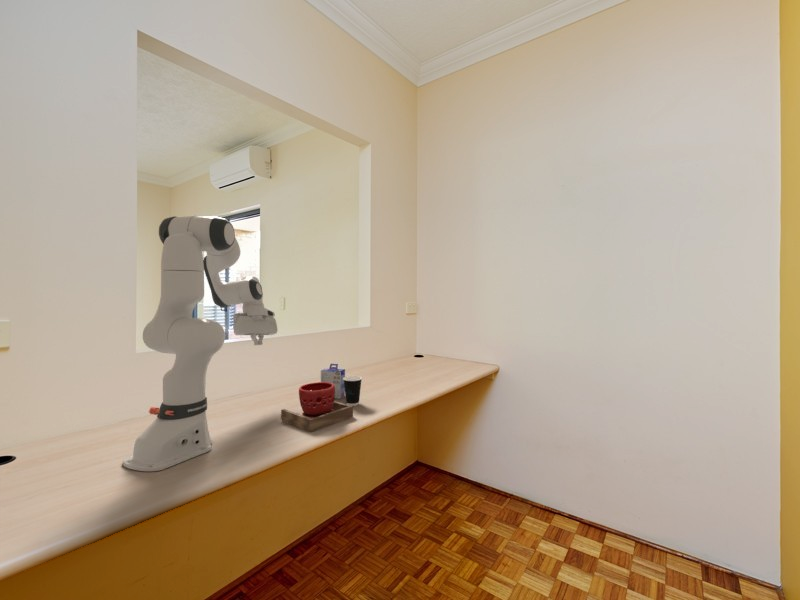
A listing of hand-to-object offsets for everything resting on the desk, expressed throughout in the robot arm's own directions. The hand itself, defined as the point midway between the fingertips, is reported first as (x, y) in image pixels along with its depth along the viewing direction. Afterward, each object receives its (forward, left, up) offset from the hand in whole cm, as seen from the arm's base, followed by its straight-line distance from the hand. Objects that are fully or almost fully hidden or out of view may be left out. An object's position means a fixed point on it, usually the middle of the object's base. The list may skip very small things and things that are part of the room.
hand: (258, 345), depth 157 cm
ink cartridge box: (+17, -26, -24) cm, 40 cm away
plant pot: (-9, -34, -24) cm, 43 cm away
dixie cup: (+10, -39, -24) cm, 47 cm away
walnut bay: (-10, -34, -24) cm, 43 cm away
